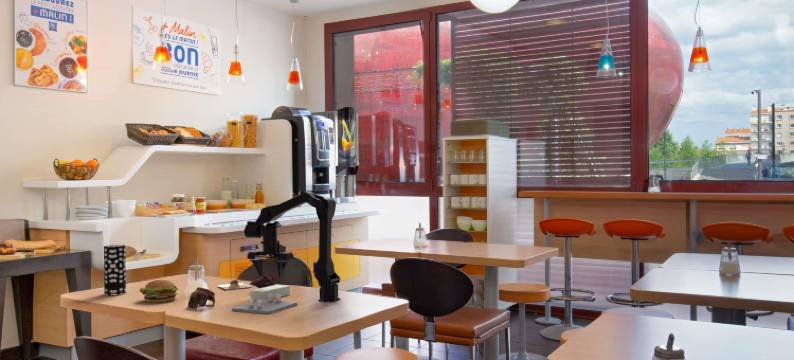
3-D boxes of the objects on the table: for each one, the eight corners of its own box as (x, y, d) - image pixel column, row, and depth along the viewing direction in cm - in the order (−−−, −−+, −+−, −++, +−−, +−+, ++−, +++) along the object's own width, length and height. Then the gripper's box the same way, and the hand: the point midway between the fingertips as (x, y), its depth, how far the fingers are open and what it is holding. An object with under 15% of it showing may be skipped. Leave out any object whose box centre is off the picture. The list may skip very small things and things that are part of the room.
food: (172, 295, 274) (172, 276, 274) (181, 300, 262) (181, 280, 262) (137, 299, 266) (137, 279, 266) (145, 304, 254) (144, 284, 254)
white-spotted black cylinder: (130, 293, 280) (129, 245, 280) (112, 296, 273) (111, 247, 273) (117, 291, 285) (117, 244, 285) (100, 294, 278) (99, 246, 278)
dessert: (252, 289, 291) (252, 278, 291) (225, 291, 284) (225, 280, 284) (242, 285, 301) (242, 274, 301) (216, 288, 294) (216, 277, 294)
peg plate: (297, 304, 251) (297, 294, 251) (269, 314, 234) (268, 302, 234) (261, 301, 257) (261, 291, 257) (232, 310, 241) (231, 299, 241)
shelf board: (289, 295, 273) (289, 285, 273) (263, 302, 259) (262, 291, 259) (277, 294, 276) (277, 284, 276) (250, 300, 262) (250, 290, 262)
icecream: (257, 278, 275) (283, 276, 287) (246, 272, 279) (272, 271, 291) (254, 294, 276) (280, 292, 288) (242, 288, 280) (268, 286, 292)
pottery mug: (182, 307, 250) (191, 287, 254) (206, 316, 254) (214, 296, 257) (190, 304, 240) (199, 283, 244) (214, 314, 244) (223, 292, 247)
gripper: (300, 237, 271) (301, 275, 271) (262, 236, 279) (263, 273, 279) (285, 239, 261) (285, 279, 261) (246, 238, 268) (246, 277, 268)
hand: (270, 277), depth 267 cm, fingers open, 9 cm apart
